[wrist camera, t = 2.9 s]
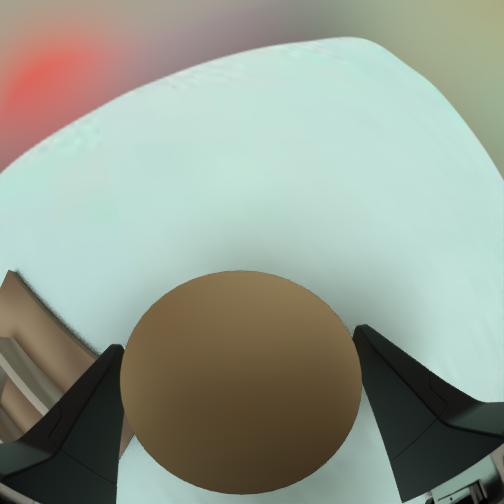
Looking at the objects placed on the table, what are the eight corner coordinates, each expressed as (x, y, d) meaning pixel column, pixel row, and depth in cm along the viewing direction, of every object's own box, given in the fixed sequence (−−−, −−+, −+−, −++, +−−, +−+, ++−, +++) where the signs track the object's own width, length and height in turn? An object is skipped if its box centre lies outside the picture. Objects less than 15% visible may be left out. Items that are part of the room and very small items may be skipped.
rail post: (253, 394, 16) (283, 518, 4) (192, 360, 16) (87, 416, 4) (288, 335, 17) (398, 339, 5) (227, 301, 18) (197, 227, 5)
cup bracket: (86, 516, 11) (66, 536, 8) (-26, 400, 13) (-52, 402, 9) (154, 399, 16) (133, 414, 12) (15, 272, 17) (-15, 260, 13)
